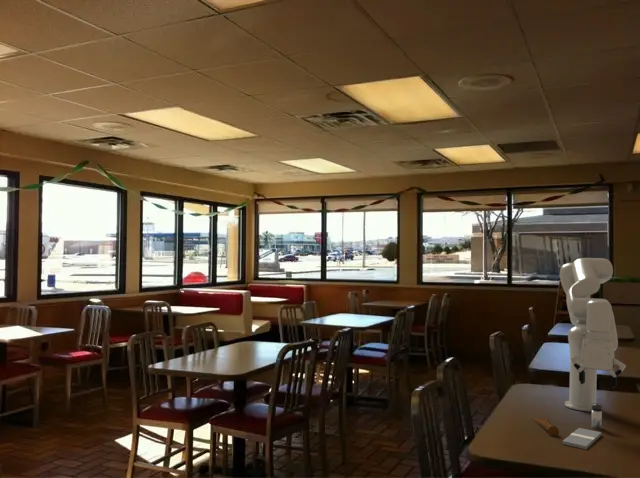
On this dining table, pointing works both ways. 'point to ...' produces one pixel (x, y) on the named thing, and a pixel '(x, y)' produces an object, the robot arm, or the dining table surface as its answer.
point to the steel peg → (596, 416)
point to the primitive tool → (547, 426)
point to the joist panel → (582, 438)
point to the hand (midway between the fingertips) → (597, 385)
